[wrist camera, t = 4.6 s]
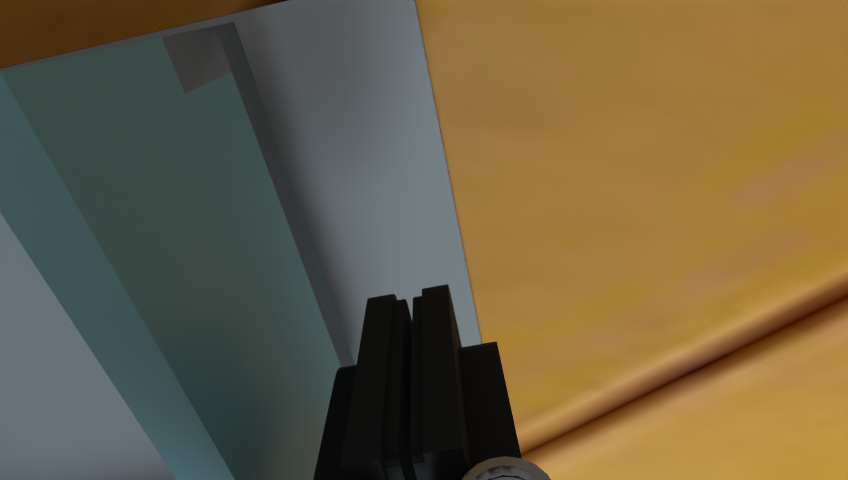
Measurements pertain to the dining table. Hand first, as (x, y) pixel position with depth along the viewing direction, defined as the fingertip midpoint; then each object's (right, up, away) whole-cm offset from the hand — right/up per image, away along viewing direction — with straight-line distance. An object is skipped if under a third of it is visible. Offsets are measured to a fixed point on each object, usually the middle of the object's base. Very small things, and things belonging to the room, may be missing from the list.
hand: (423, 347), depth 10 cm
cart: (-9, +1, +6) cm, 11 cm away
